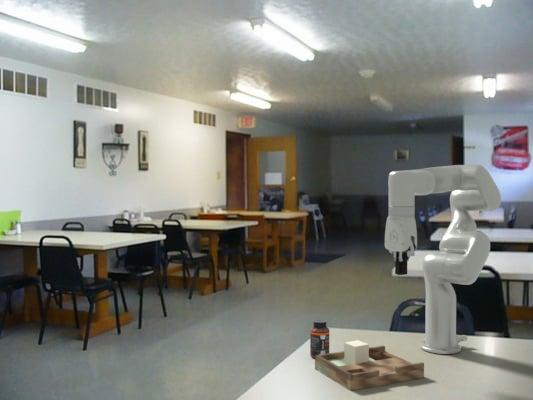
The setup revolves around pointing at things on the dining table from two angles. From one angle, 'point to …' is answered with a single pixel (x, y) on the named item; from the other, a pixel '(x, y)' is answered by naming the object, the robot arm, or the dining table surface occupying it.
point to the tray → (368, 369)
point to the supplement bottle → (319, 338)
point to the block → (356, 352)
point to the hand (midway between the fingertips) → (401, 274)
